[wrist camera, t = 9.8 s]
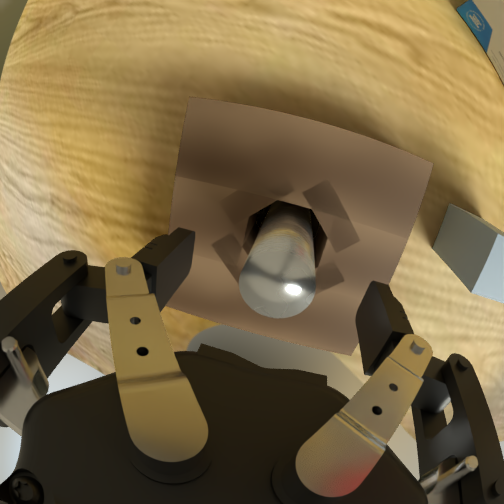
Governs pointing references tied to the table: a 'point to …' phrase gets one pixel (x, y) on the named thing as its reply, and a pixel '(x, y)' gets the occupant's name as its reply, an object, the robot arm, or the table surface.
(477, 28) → the ink box
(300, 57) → the table surface
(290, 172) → the socket block
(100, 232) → the table surface
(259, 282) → the round bit
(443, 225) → the square bar
